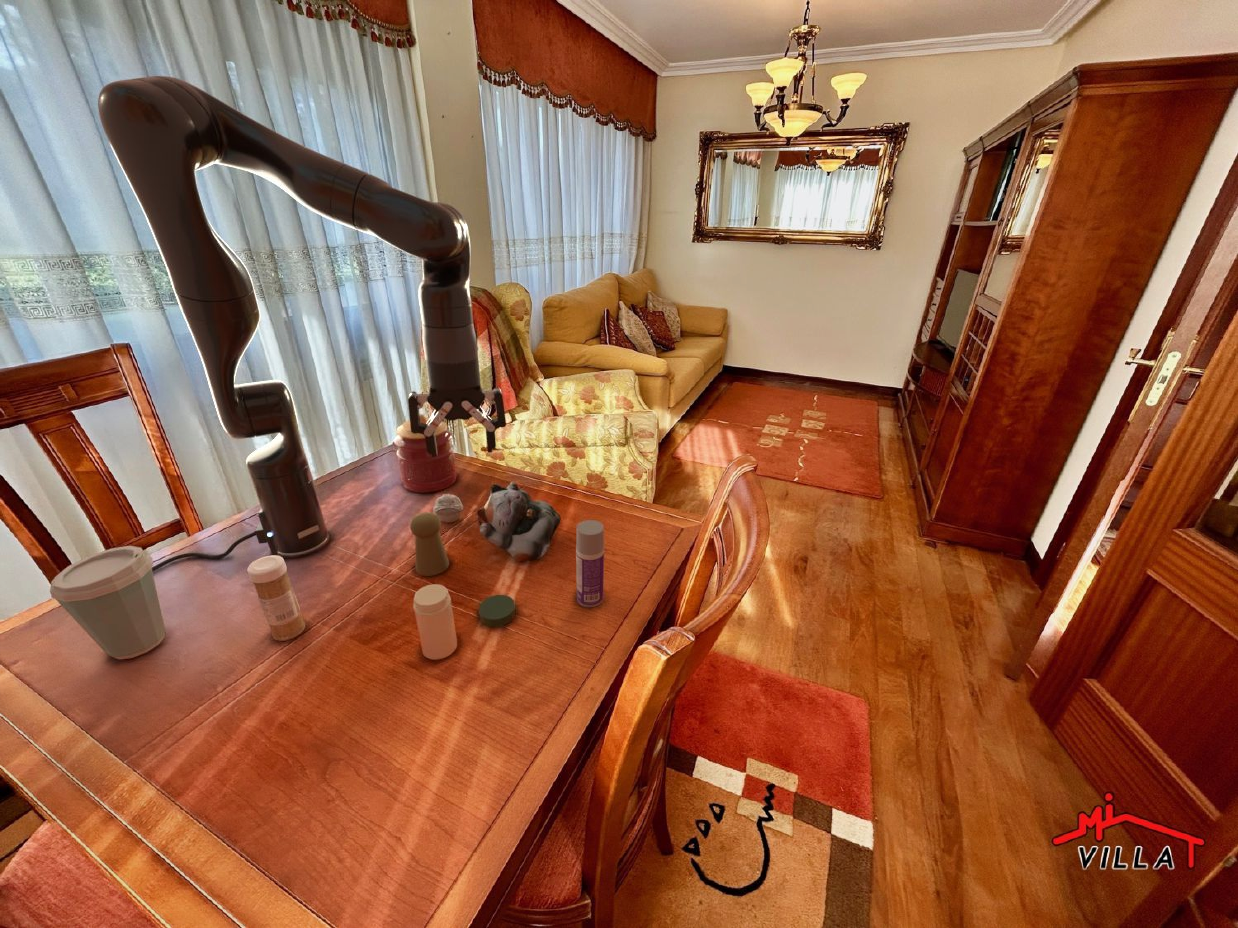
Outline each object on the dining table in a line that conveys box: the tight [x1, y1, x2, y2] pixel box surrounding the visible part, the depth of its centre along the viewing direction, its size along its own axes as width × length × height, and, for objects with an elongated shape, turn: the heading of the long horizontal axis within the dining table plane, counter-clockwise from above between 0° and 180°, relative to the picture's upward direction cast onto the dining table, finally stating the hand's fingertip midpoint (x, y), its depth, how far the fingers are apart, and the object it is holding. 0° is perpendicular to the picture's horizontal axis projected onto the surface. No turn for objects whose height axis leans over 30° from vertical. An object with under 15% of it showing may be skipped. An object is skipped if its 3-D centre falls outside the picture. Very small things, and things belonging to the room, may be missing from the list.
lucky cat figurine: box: [475, 481, 562, 562], centre depth 100 cm, size 15×12×14 cm
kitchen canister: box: [393, 413, 458, 494], centre depth 120 cm, size 13×13×18 cm
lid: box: [478, 594, 517, 628], centre depth 84 cm, size 6×6×2 cm
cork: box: [409, 511, 450, 577], centre depth 93 cm, size 6×6×11 cm
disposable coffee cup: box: [49, 545, 166, 660], centre depth 73 cm, size 11×11×15 cm
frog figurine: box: [432, 493, 464, 524], centre depth 107 cm, size 6×7×7 cm
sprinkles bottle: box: [247, 554, 306, 642], centre depth 76 cm, size 5×5×14 cm
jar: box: [412, 583, 458, 661], centre depth 75 cm, size 5×5×10 cm
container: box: [575, 519, 605, 608], centre depth 85 cm, size 5×5×15 cm
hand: (462, 452), depth 81 cm, fingers open, 8 cm apart
